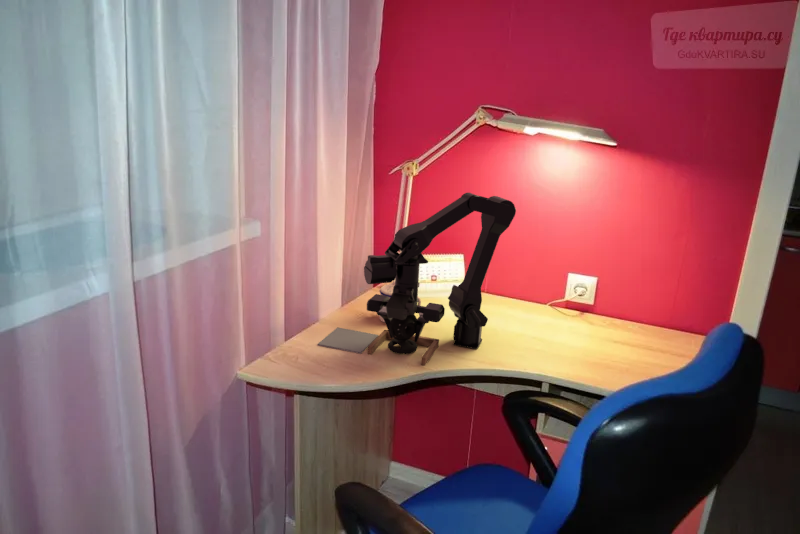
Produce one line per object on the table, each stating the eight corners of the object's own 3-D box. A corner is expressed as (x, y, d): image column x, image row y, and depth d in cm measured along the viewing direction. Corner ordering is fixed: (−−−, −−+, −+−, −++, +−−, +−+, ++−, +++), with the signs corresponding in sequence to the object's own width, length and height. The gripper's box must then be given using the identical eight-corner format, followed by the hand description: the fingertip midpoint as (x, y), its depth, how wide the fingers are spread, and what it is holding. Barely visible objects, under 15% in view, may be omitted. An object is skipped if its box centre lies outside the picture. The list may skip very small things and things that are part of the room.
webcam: (396, 357, 146) (398, 319, 143) (382, 345, 152) (383, 308, 150) (423, 351, 150) (425, 314, 147) (408, 340, 156) (410, 304, 153)
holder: (438, 346, 155) (439, 339, 154) (425, 365, 144) (425, 357, 144) (384, 336, 160) (384, 329, 159) (367, 354, 149) (367, 346, 148)
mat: (378, 336, 160) (378, 334, 159) (361, 353, 149) (361, 352, 148) (337, 328, 163) (337, 327, 163) (317, 345, 152) (317, 343, 152)
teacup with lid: (380, 325, 167) (381, 285, 163) (377, 313, 175) (378, 275, 172) (422, 325, 168) (424, 286, 165) (417, 313, 177) (419, 276, 174)
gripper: (358, 284, 141) (357, 345, 146) (434, 296, 136) (430, 359, 140) (375, 272, 152) (373, 329, 156) (447, 282, 146) (442, 341, 150)
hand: (403, 339), depth 150 cm, fingers closed on webcam, 6 cm apart
